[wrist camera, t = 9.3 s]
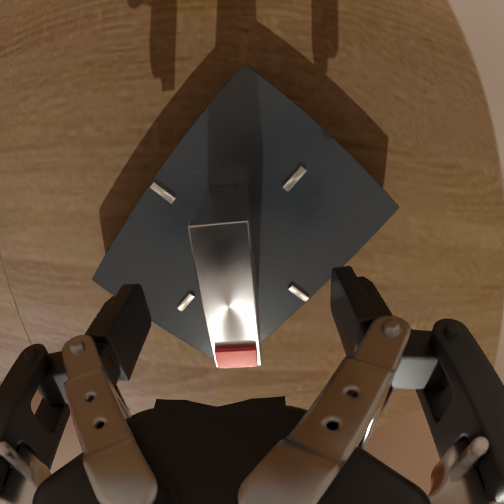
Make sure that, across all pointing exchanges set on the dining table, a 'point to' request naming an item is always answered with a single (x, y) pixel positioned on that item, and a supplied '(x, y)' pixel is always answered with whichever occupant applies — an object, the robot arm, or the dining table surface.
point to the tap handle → (227, 274)
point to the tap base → (262, 209)
